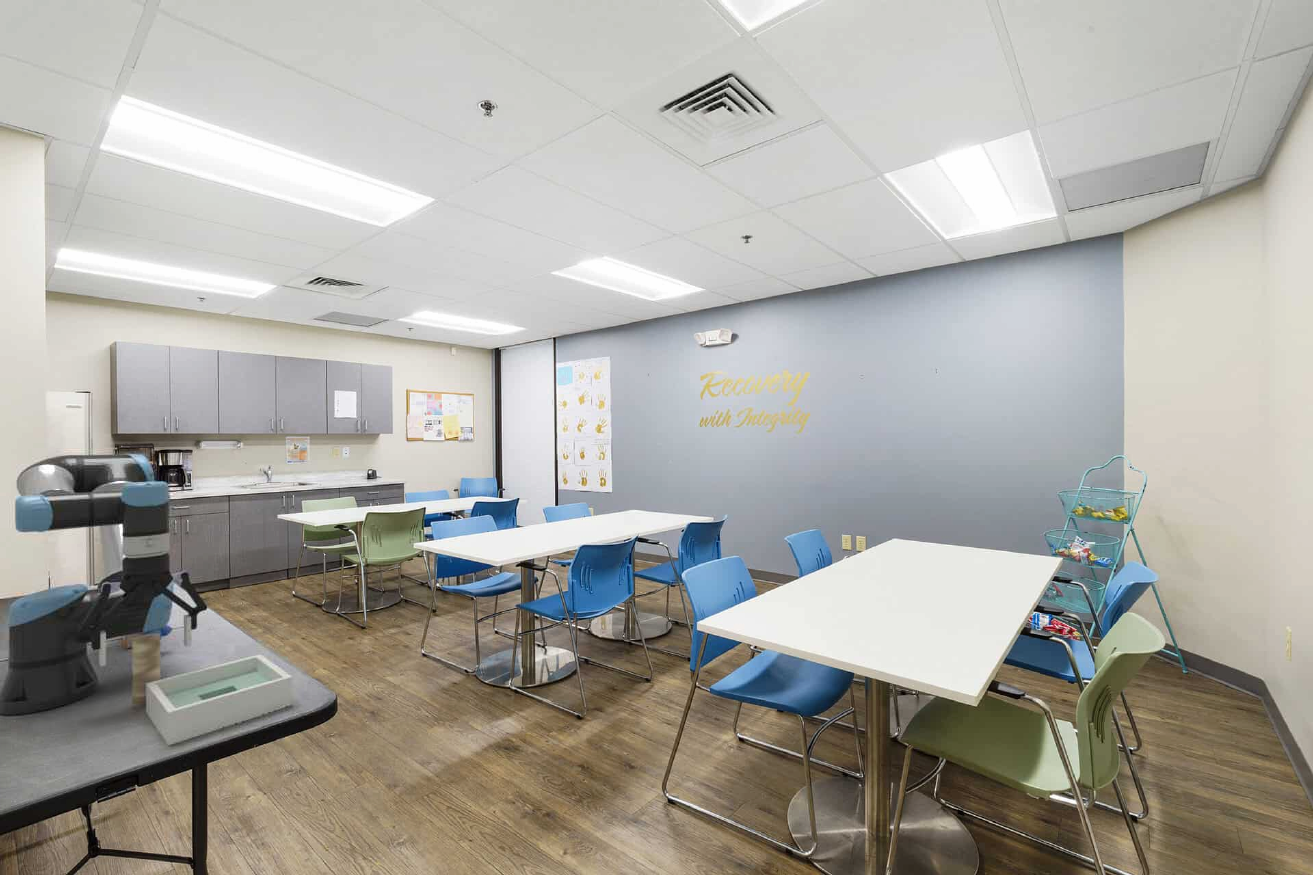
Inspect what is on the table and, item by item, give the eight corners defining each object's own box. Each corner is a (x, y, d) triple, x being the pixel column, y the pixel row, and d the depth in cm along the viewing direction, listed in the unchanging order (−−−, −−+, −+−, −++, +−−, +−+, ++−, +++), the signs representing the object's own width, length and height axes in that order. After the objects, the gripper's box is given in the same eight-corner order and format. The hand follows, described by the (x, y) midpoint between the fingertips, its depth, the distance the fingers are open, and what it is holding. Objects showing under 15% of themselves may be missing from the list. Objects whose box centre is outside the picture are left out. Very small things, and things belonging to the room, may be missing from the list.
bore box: (168, 745, 104) (168, 712, 104) (146, 712, 116) (146, 683, 116) (292, 705, 119) (292, 676, 119) (260, 680, 132) (260, 654, 132)
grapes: (176, 656, 146) (176, 610, 146) (141, 664, 141) (141, 616, 141) (169, 645, 154) (169, 601, 154) (135, 652, 149) (135, 607, 149)
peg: (134, 709, 118) (134, 641, 118) (130, 703, 121) (130, 637, 121) (162, 701, 121) (162, 636, 121) (158, 695, 124) (157, 631, 124)
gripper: (63, 566, 109) (64, 677, 109) (223, 547, 128) (223, 641, 128) (59, 562, 114) (60, 668, 113) (213, 544, 133) (214, 634, 133)
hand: (146, 654), depth 121 cm, fingers open, 13 cm apart
